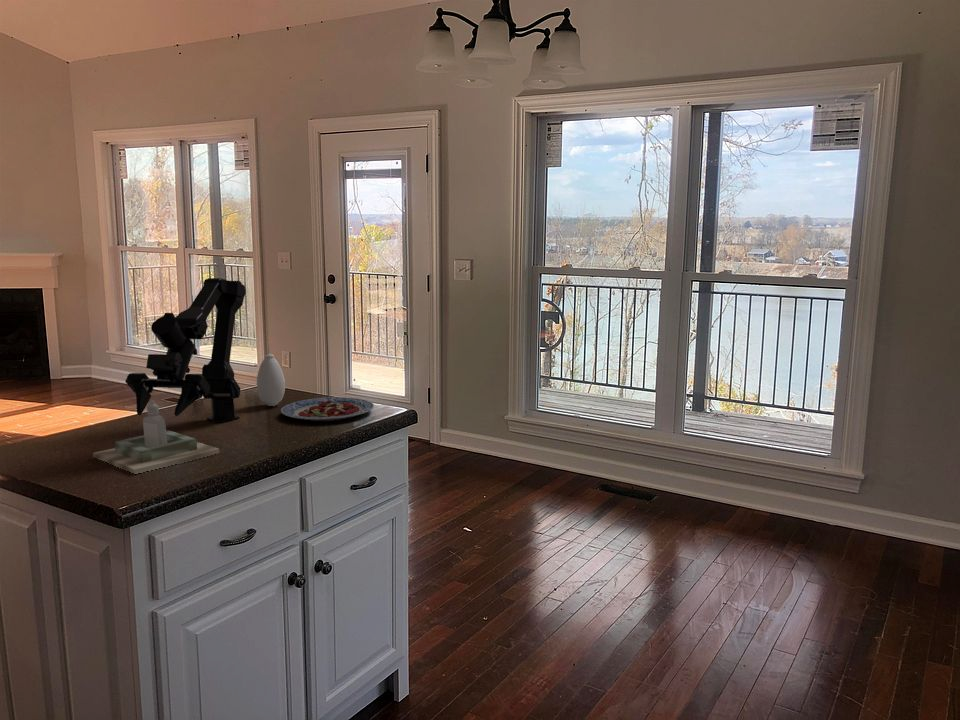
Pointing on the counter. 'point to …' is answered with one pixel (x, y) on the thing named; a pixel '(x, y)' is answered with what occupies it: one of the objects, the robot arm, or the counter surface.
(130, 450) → the bottle socket
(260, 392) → the white vase
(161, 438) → the eye dropper bottle
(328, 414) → the ceramic plate
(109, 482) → the counter surface
